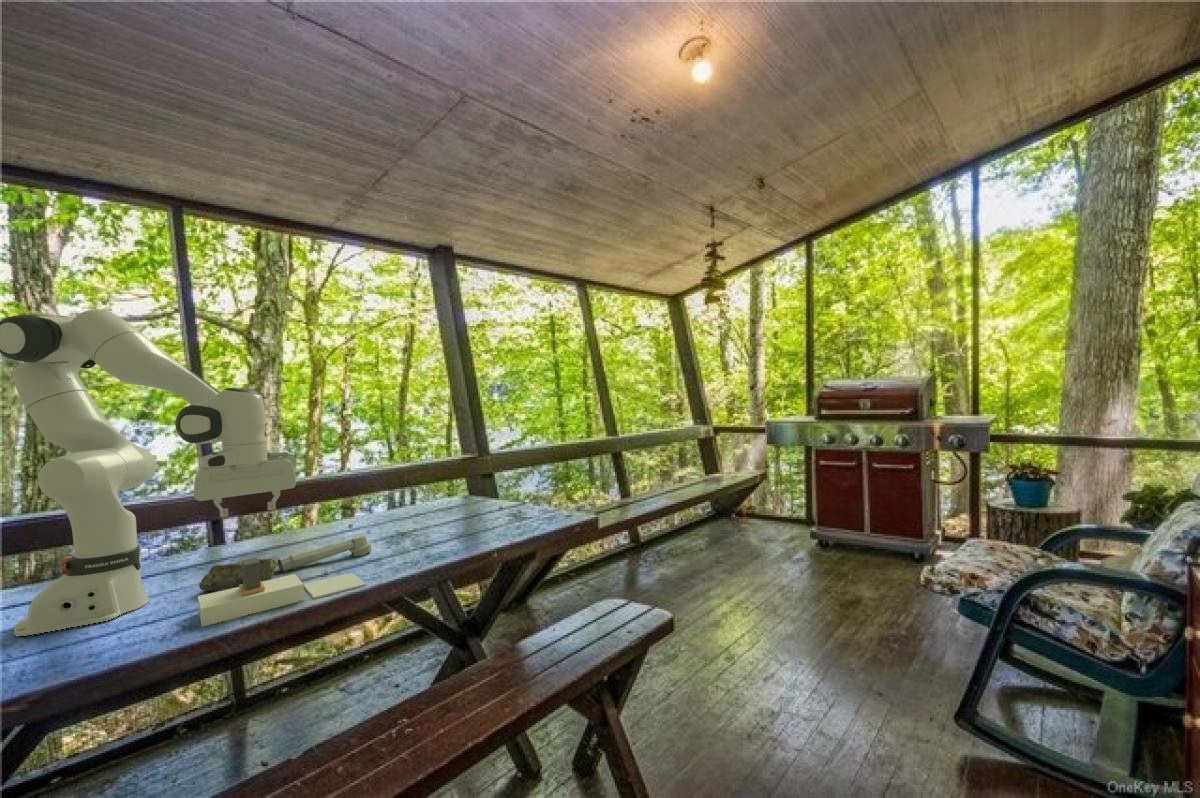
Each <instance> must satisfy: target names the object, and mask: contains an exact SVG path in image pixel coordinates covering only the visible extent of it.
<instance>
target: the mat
mask: <svg viewBox="0 0 1200 798" xmlns="http://www.w3.org/2000/svg"><path fill="white" fill-rule="evenodd" d="M303 584H304V590H306V591H307V593H309V594H310V596H311V597H312V598H313V599H314V600H316V599H321V598H323V597H324V598H325V597H327V596H331V595H336V594H339V593H343V592H346V591H350V590H354V589H358V588H362V587H366V585H367V584H366V583H365V582H364V581H363V580H361V579H360V578H359V577H358V576H357V575H355V573H354V572H349V573H345V574H339V575H337V576H333V577H329V578H324V579H319V580H317V581H312V582H307V583H303Z"/></svg>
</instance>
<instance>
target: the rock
mask: <svg viewBox="0 0 1200 798" xmlns="http://www.w3.org/2000/svg"><path fill="white" fill-rule="evenodd" d="M258 560H259V562H260V580H261V582H262V581H267V580H271V579H273V577H274V575H275V573H276V571H275V570H276V567H277V565H278V561H276V560H274V559H273V558H263V559H258ZM241 584H243V578H242V561H236V562H231V563H226V564H219V565H213V566H212V567H211V568H210V570H209V572H208V574H205V576H203V578H201V581H200V582H199V586H198V587H199V589H200V590H201V591H223V590H227V589H232V588H236V587H239V585H241Z"/></svg>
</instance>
